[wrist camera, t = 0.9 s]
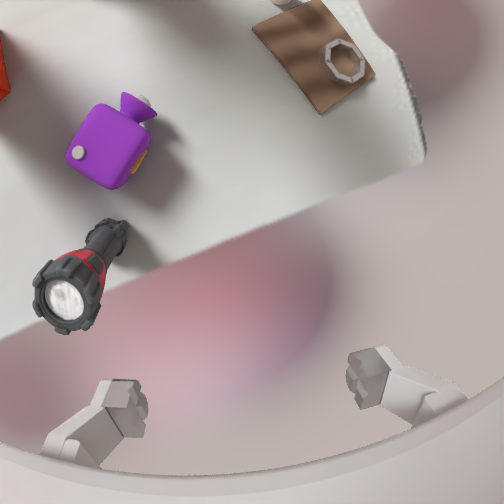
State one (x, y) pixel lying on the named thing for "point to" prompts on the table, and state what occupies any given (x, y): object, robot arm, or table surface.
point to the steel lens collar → (331, 70)
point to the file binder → (3, 77)
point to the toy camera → (112, 141)
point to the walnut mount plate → (311, 51)
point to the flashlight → (78, 279)
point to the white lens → (280, 2)
